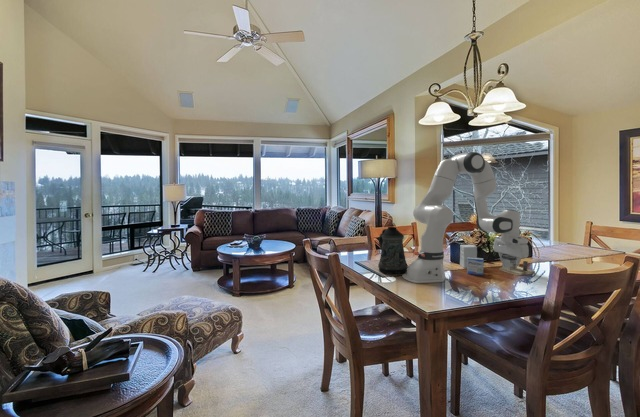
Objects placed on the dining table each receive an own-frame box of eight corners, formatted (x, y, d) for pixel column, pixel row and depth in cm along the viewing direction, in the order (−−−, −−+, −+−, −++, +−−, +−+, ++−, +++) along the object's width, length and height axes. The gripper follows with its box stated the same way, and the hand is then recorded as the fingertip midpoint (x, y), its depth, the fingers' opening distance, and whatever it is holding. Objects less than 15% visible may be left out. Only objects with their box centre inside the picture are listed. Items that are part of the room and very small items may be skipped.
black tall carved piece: (400, 276, 175) (400, 230, 173) (368, 271, 187) (368, 228, 185) (412, 269, 188) (412, 227, 186) (381, 265, 200) (381, 224, 198)
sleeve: (509, 270, 180) (510, 257, 179) (501, 267, 185) (502, 255, 184) (517, 269, 181) (517, 256, 181) (509, 266, 187) (509, 254, 186)
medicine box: (466, 273, 178) (467, 258, 178) (467, 271, 182) (467, 256, 182) (483, 275, 175) (483, 259, 174) (483, 273, 179) (483, 258, 178)
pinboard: (518, 275, 174) (518, 264, 173) (499, 269, 185) (499, 259, 184) (534, 273, 177) (535, 262, 177) (515, 267, 189) (516, 257, 188)
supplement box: (472, 265, 196) (472, 244, 195) (476, 268, 189) (477, 246, 188) (459, 265, 197) (459, 244, 196) (463, 268, 190) (464, 246, 189)
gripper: (490, 235, 191) (490, 259, 192) (522, 241, 171) (521, 267, 172) (499, 235, 193) (498, 258, 194) (531, 240, 173) (530, 266, 174)
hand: (509, 262), depth 183 cm, fingers open, 8 cm apart
